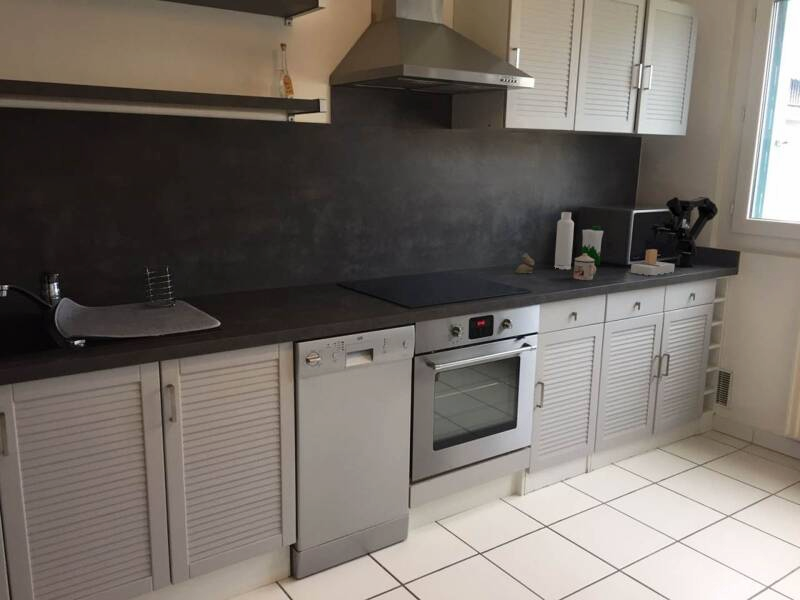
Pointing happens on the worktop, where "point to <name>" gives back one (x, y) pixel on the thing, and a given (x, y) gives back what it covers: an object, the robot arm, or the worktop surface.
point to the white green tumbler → (592, 243)
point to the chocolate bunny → (526, 265)
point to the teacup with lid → (584, 268)
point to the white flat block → (652, 268)
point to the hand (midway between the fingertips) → (662, 244)
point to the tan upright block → (651, 256)
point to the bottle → (564, 241)
